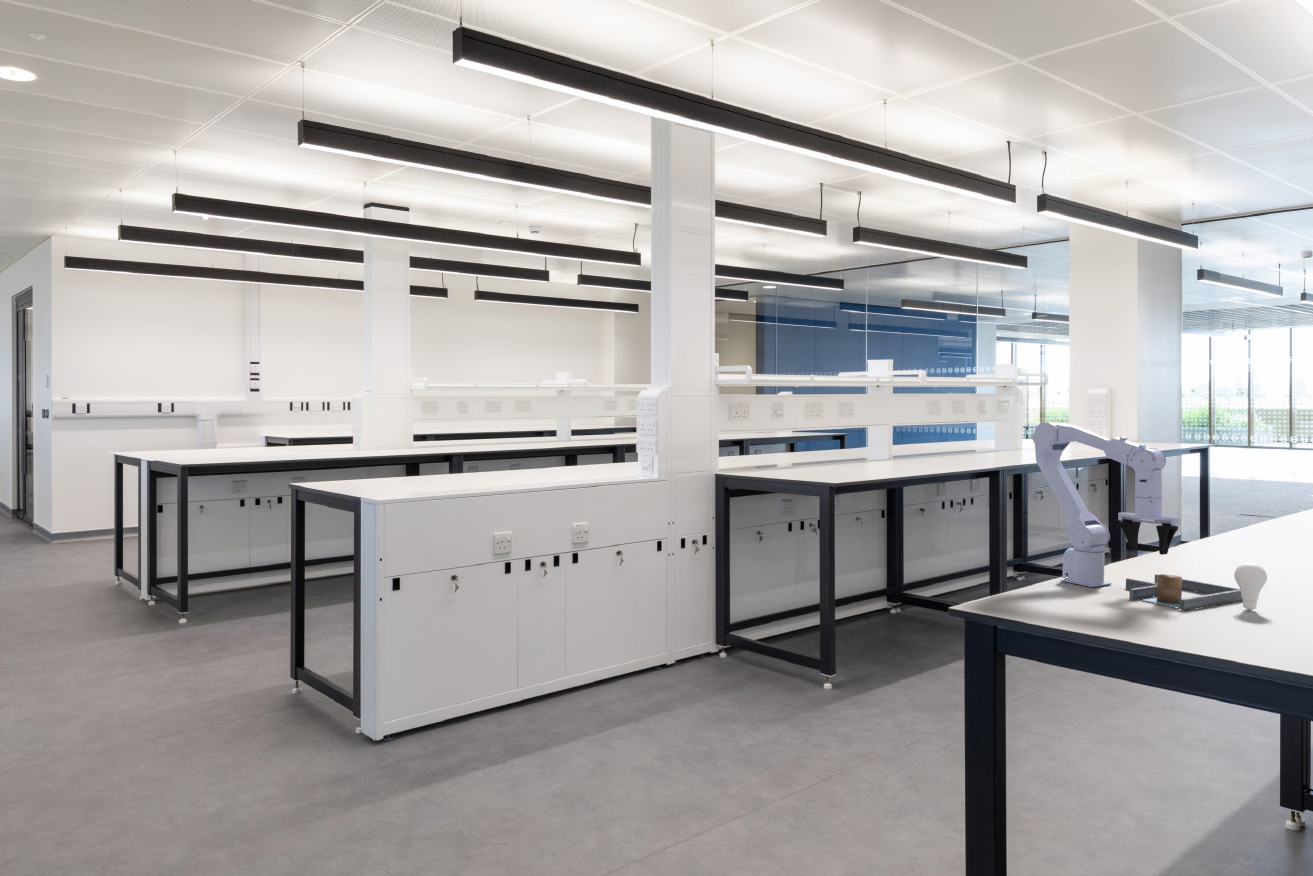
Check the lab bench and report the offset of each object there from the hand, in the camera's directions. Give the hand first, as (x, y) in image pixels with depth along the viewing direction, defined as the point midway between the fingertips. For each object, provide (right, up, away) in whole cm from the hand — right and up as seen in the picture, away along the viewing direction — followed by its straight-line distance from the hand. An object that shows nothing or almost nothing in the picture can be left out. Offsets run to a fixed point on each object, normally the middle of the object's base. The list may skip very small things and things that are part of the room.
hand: (1148, 552), depth 211 cm
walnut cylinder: (-1, -10, -10) cm, 14 cm away
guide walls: (+3, -11, -2) cm, 11 cm away
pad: (-1, -11, -10) cm, 14 cm away
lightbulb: (+13, -11, -17) cm, 24 cm away
